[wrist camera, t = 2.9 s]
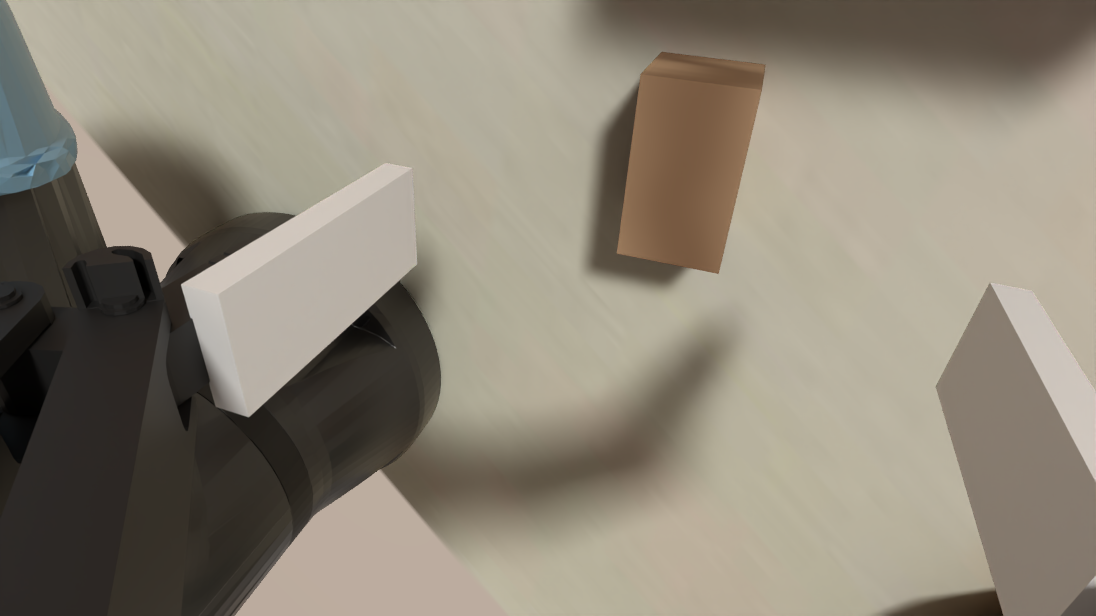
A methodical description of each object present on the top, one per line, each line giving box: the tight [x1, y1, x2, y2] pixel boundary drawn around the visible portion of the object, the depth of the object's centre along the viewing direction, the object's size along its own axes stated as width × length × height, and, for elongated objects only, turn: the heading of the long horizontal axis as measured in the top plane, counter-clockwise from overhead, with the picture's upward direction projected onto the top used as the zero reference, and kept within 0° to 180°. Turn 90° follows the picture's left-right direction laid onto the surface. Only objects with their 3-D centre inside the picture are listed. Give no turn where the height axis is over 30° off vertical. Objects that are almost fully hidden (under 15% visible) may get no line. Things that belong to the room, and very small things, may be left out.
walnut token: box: [617, 52, 765, 274], centre depth 22 cm, size 4×6×4 cm, turn 177°
